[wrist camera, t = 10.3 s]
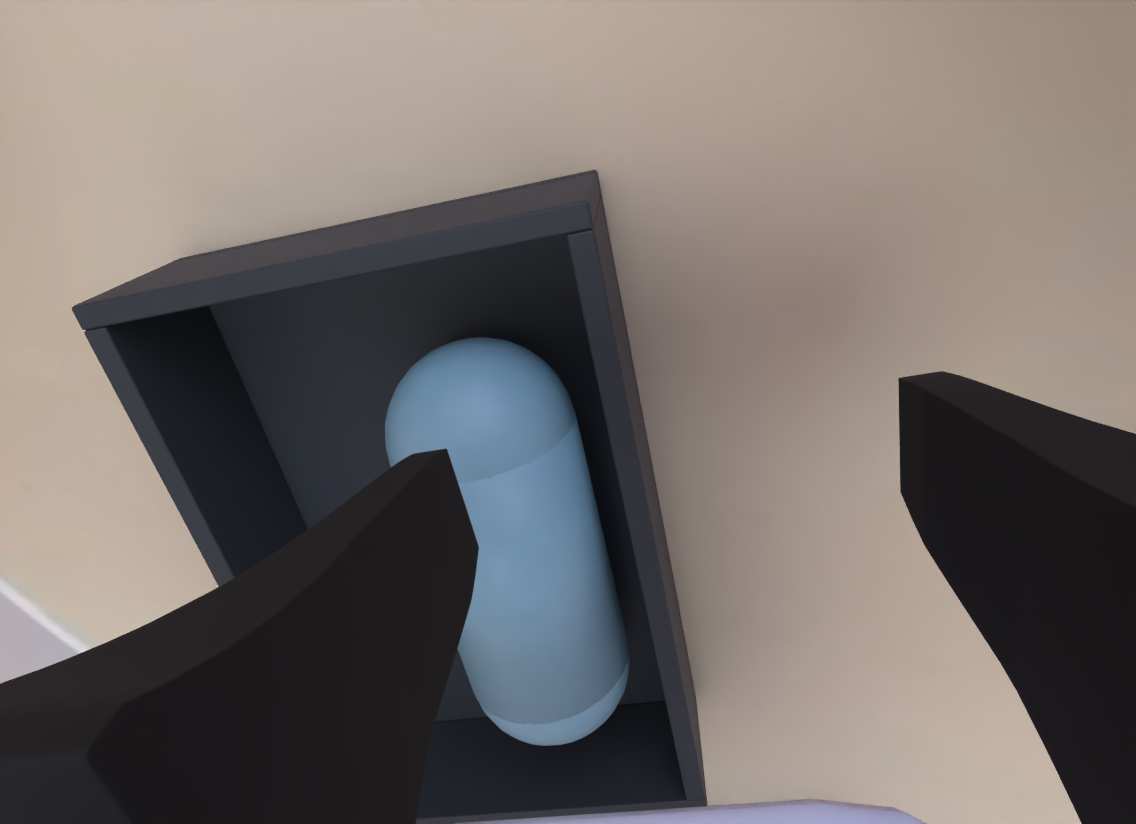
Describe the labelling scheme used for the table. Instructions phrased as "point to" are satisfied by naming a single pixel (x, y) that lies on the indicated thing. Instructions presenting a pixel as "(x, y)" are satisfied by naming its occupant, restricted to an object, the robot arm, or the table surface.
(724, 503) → the table surface
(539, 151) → the table surface
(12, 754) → the robot arm
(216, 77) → the table surface
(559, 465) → the capsule
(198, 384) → the bin
